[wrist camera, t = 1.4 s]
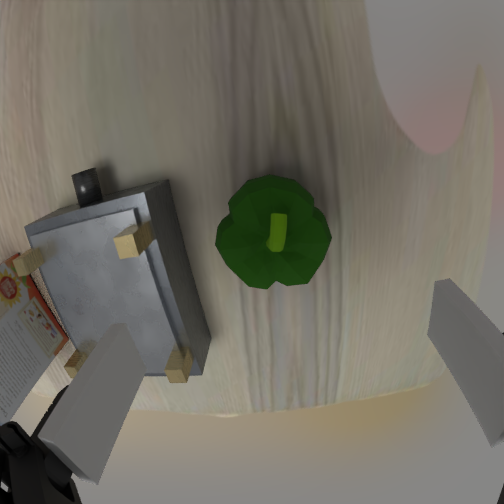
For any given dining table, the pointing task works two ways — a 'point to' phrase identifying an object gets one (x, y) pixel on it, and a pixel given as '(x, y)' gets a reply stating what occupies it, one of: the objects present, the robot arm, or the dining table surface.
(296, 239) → the bell pepper
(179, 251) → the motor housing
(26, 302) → the cracker box
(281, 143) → the dining table surface
